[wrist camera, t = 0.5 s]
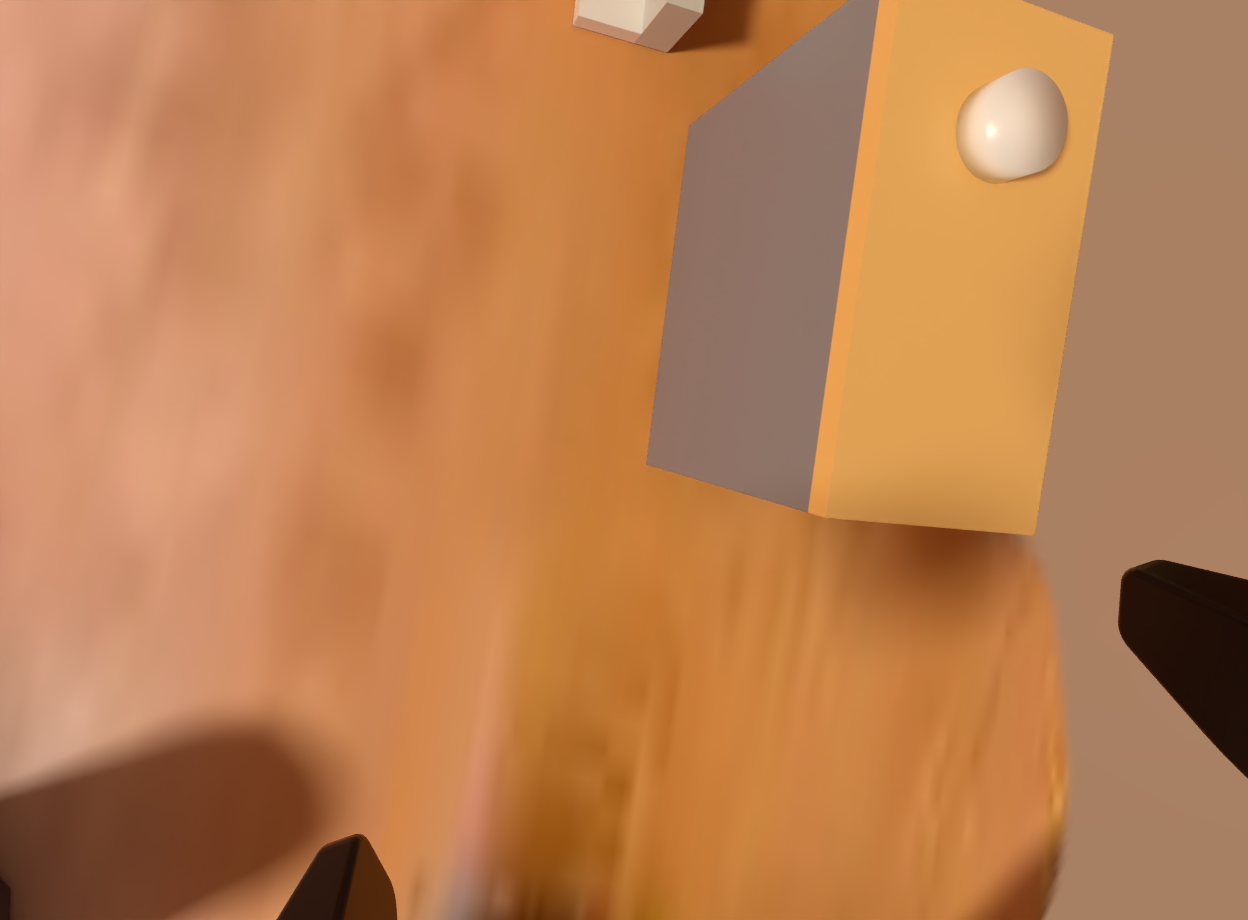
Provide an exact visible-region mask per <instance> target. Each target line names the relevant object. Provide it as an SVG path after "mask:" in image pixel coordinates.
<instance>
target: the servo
mask: <svg viewBox="0 0 1248 920" xmlns="http://www.w3.org/2000/svg"><path fill="white" fill-rule="evenodd" d="M1113 36H1114V35H1112V34H1110V33H1107V32H1104V31H1102V30H1099V29H1096V28H1094V27H1091V26H1088V25H1086V24H1083V23H1080V22H1078V21H1075V20H1072V19H1070V18H1067V17H1065V16H1062V15H1059V14H1057V13H1054V12H1051V11H1048V10H1046V9H1043V8H1041V7H1038V6H1035V5H1033V4H1030V3H1027V2H1024V1H1022V0H848V1H847V2H846V3H845V4H843V5H842V6H841V7H840V8H838V9H837V10H836V11H834V12H833V13H832V14H831V15H829V16H828V17H827V18H826V19H824V20H823V21H822V22H820V23H819V24H818V25H817V26H815V27H814V28H813V29H812V30H810V31H809V32H808V33H806V34H805V35H804V36H803V37H801V38H800V39H799V40H798V41H796V42H795V43H794V44H792V45H791V46H790V47H789V48H787V49H786V50H785V51H784V52H782V53H781V54H780V55H778V56H777V57H776V58H775V59H773V60H772V61H771V62H770V63H768V64H767V65H766V66H764V67H763V68H762V69H761V70H759V71H758V72H757V73H756V74H754V75H753V76H752V77H750V78H749V79H748V80H747V81H745V82H744V83H743V84H742V85H740V86H739V87H738V88H736V89H735V90H734V91H733V92H731V93H730V94H729V95H728V96H726V97H725V98H724V99H722V100H721V101H720V102H719V103H717V104H716V105H715V106H714V107H712V108H711V109H710V110H708V111H707V112H706V113H705V114H703V115H702V116H701V117H700V118H698V119H697V120H696V121H694V122H693V123H692V124H691V125H689V130H688V138H687V146H686V154H685V162H684V170H683V178H682V186H681V194H680V201H679V209H678V217H677V225H676V233H675V241H674V249H673V257H672V265H671V273H670V281H669V288H668V296H667V304H666V312H665V320H664V328H663V336H662V344H661V352H660V360H659V368H658V375H657V383H656V391H655V399H654V407H653V415H652V423H651V431H650V439H649V447H648V455H647V462H646V464H647V465H650V466H653V467H657V468H660V469H663V470H667V471H670V472H673V473H677V474H680V475H683V476H687V477H690V478H694V479H697V480H700V481H704V482H707V483H710V484H714V485H717V486H720V487H724V488H727V489H730V490H734V491H737V492H740V493H744V494H747V495H750V496H754V497H757V498H761V499H764V500H767V501H771V502H774V503H777V504H781V505H784V506H787V507H791V508H794V509H797V510H801V511H804V512H807V513H811V514H814V515H818V516H821V517H824V518H833V519H845V520H856V521H868V522H880V523H892V524H903V525H915V526H927V527H939V528H951V529H962V530H974V531H986V532H998V533H1009V534H1021V535H1033V536H1035V530H1036V523H1037V517H1038V511H1039V505H1040V498H1041V492H1042V485H1043V480H1044V473H1045V467H1046V460H1047V454H1048V448H1049V441H1050V435H1051V428H1052V423H1053V416H1054V410H1055V404H1056V397H1057V391H1058V384H1059V378H1060V372H1061V365H1062V359H1063V353H1064V347H1065V340H1066V334H1067V328H1068V321H1069V315H1070V309H1071V302H1072V296H1073V290H1074V283H1075V277H1076V270H1077V264H1078V257H1079V251H1080V245H1081V239H1082V233H1083V226H1084V220H1085V213H1086V207H1087V201H1088V194H1089V188H1090V182H1091V176H1092V169H1093V163H1094V157H1095V150H1096V144H1097V138H1098V131H1099V124H1100V118H1101V112H1102V106H1103V99H1104V93H1105V87H1106V81H1107V74H1108V68H1109V62H1110V55H1111V49H1112V42H1113Z"/></svg>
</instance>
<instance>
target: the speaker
mask: <svg viewBox="0 0 1248 920" xmlns="http://www.w3.org/2000/svg"><path fill="white" fill-rule="evenodd" d="M0 920H10V888H9V887H8V886H7V885H6V884H5V883H4V882H3V881H2V880H1V879H0Z"/></svg>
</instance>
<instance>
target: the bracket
mask: <svg viewBox="0 0 1248 920" xmlns="http://www.w3.org/2000/svg"><path fill="white" fill-rule="evenodd" d="M704 1H705V0H576V2H575V10H574V19H573V26H577V27H580V28H584V29H587V30H590V31H594V32H597V33H601V34H604V35H608V36H611V37H615V38H618V39H621V40H625V41H628V42H632V43H635V44H639V45H642V46H645V47H649V48H652V49H656V50H659V51H663V52H666V53H667V52H668V51H669V50H670V49H671V48H672V47H673V46H674V44H675V43H676V42H677V41H678V40H679V39H680V38H681V37H682V36H683V35H684V34H685V33H686V31H687V30H688V29H689V28H690V27H691V26H692V25H693V24H694V23H695V22H696V21H697V19H698V18H699V17H700V16H701V15H702V14H703V9H704Z"/></svg>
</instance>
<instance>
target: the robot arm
mask: <svg viewBox="0 0 1248 920" xmlns="http://www.w3.org/2000/svg"><path fill="white" fill-rule="evenodd" d="M1118 626H1119V631H1120V634H1121V636H1122V638H1123V640H1124V642H1125V643H1126V645H1127V646H1128V647H1129V648H1130V650H1131V651H1132V652H1133V653H1134V654H1135V655H1136V656H1137V657H1138V659H1139V660H1140V661H1141V662H1142V663H1143V664H1144V665H1145V667H1146V668H1147V669H1148V670H1149V671H1150V672H1151V674H1152V675H1153V676H1154V677H1155V678H1156V679H1157V680H1158V681H1159V683H1160V684H1161V685H1162V686H1163V687H1164V688H1165V689H1166V691H1167V692H1168V693H1169V694H1170V695H1171V696H1172V697H1173V699H1174V700H1175V701H1176V702H1177V703H1178V704H1179V705H1180V707H1181V708H1182V709H1183V710H1184V711H1185V712H1186V713H1187V714H1188V716H1189V717H1190V718H1191V719H1192V720H1193V721H1194V722H1195V724H1196V725H1197V726H1198V727H1199V728H1200V729H1201V731H1202V732H1203V733H1204V734H1205V735H1206V736H1207V737H1208V738H1209V739H1210V740H1211V742H1212V743H1213V744H1214V745H1215V746H1216V747H1217V748H1218V749H1219V750H1220V751H1221V752H1222V753H1223V754H1224V755H1225V756H1226V757H1227V758H1228V759H1229V760H1230V761H1231V762H1232V763H1233V764H1234V765H1235V766H1236V767H1237V768H1238V769H1239V770H1240V771H1241V772H1242V773H1243V774H1244V775H1245V776H1246V777H1247V778H1248V580H1247V579H1242V578H1238V577H1234V576H1229V575H1226V574H1221V573H1217V572H1212V571H1209V570H1204V569H1200V568H1196V567H1192V566H1187V565H1183V564H1179V563H1175V562H1170V561H1166V560H1155V561H1151V562H1148V563H1145V564H1142V565H1139V566H1136V567H1133V568H1130V569H1129V570H1127V571H1126V572H1125V573H1124V575H1123V576H1122V579H1121V589H1120V602H1119V616H1118ZM277 920H397V909H396V899H395V894H394V890H393V886H392V883H391V881H390V879H389V877H388V875H387V873H386V871H385V870H384V868H383V866H382V864H381V862H380V860H379V859H378V857H377V855H376V853H375V851H374V849H373V848H372V846H371V844H370V842H369V841H368V839H367V838H366V837H365V836H364V835H362V834H354V835H351V836H348V837H345V838H342V839H340V840H337V841H334V842H331V843H328V844H326V845H325V846H323V847H322V848H321V849H320V850H319V852H318V853H317V855H316V856H315V858H314V859H313V861H312V863H311V864H310V866H309V868H308V869H307V871H306V872H305V874H304V876H303V877H302V879H301V881H300V882H299V884H298V886H297V887H296V889H295V890H294V892H293V894H292V895H291V897H290V899H289V900H288V902H287V903H286V905H285V907H284V908H283V910H282V912H281V913H280V915H279V916H278V918H277Z"/></svg>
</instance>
